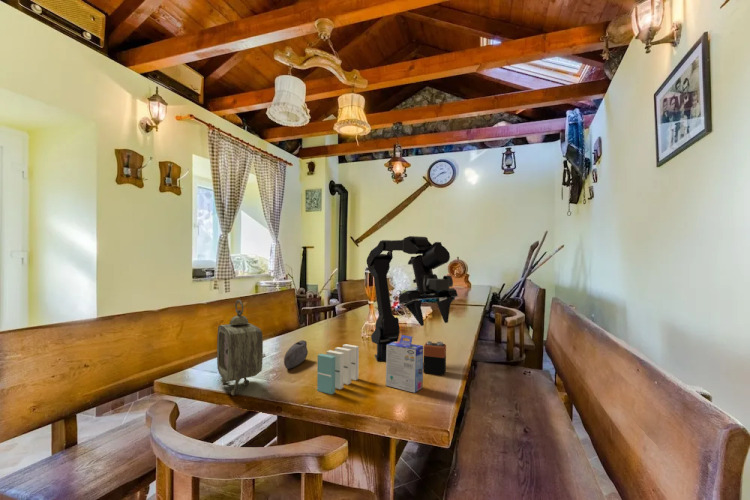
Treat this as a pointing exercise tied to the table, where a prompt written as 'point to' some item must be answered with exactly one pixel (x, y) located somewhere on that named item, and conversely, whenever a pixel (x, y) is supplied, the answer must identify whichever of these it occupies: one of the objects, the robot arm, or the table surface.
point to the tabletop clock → (239, 350)
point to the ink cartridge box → (404, 365)
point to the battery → (435, 358)
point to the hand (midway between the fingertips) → (434, 324)
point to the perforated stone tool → (295, 354)
